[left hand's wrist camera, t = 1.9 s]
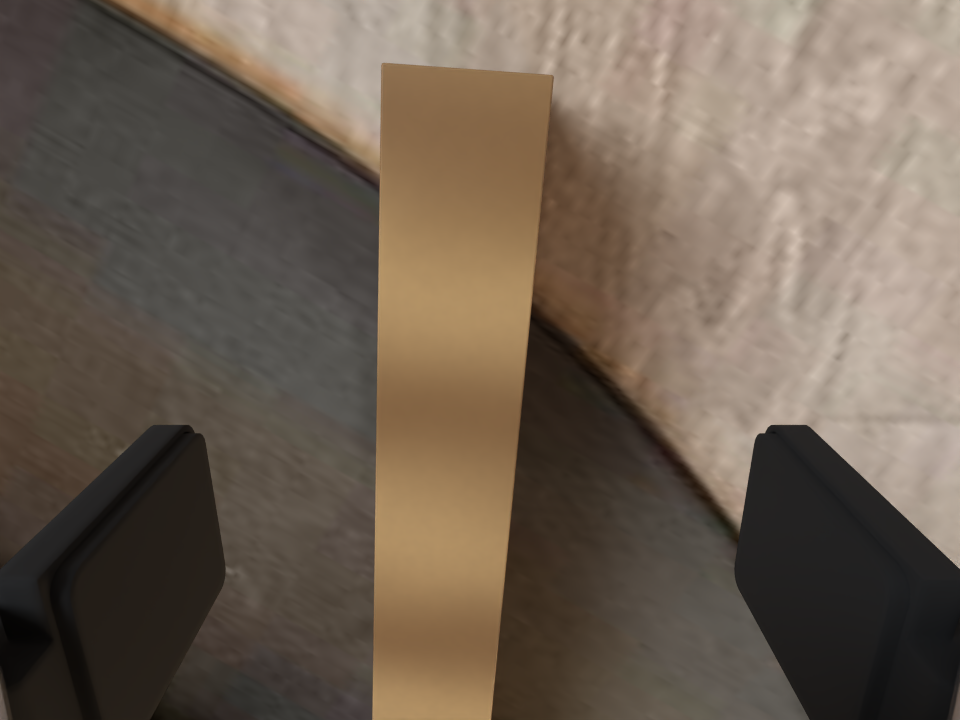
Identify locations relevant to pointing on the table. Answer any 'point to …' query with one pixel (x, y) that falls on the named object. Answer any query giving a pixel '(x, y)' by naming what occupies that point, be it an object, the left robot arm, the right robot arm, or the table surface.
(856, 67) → the table surface
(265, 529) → the table surface
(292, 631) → the table surface
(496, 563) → the bar
